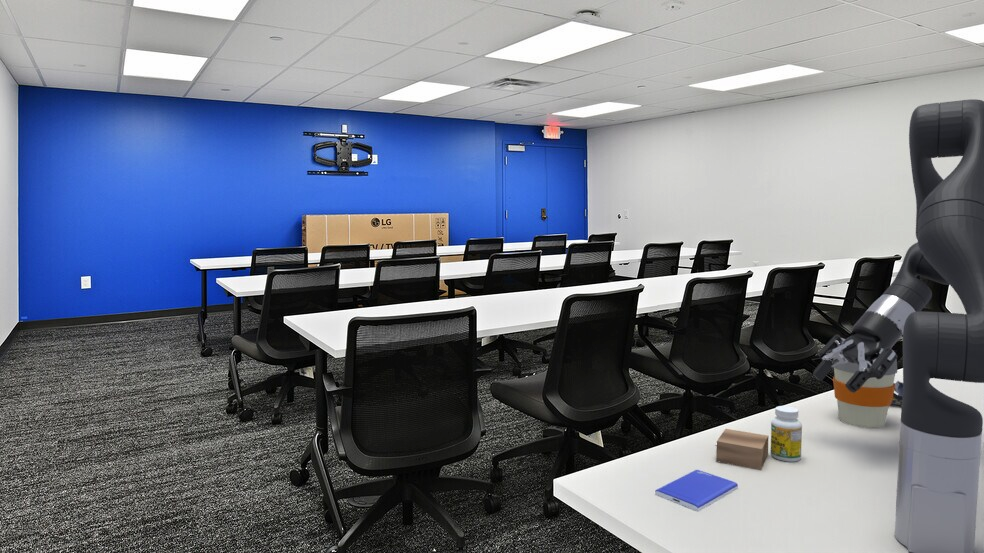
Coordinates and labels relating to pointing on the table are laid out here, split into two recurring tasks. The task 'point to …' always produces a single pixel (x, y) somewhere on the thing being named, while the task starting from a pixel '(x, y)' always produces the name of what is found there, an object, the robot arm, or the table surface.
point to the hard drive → (697, 489)
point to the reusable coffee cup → (863, 396)
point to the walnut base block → (742, 448)
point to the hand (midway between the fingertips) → (832, 383)
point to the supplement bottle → (786, 434)
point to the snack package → (899, 389)
